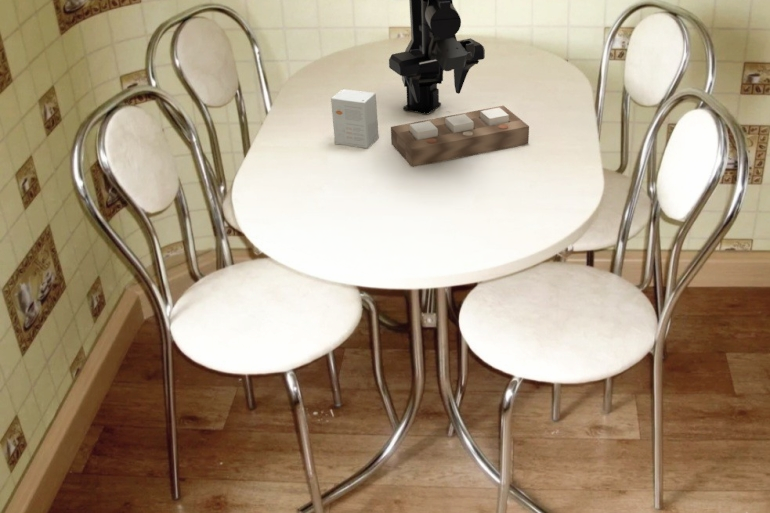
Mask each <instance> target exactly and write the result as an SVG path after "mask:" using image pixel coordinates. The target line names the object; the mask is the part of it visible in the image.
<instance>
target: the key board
mask: <svg viewBox="0 0 770 513" xmlns="http://www.w3.org/2000/svg"><path fill="white" fill-rule="evenodd" d="M494 108H501V109H502V110H503V111H504V112H506V113H507V114H508V115H509V122H508V123H503V124H498V125H493V126H488V125H487V124H486V123H484V122H483V121H482V120H481V119H480V113H481V111H484V110H489V109H494ZM463 114H465V115H466V116H468V117H469V118H470V119H471V120H472V121H473V122H474V129H472V130H467V131H462V132H457V133H452V132H451V131H450V130H449V129H448V128H447V127H446V121H445V118H447V117H452V116H457V115H463ZM426 121H430V122H431V123H432V124H433V125H434V126H435V127H436V128H437V129H438V136H436V137H431V138H426V139H421V140H416V139H415V138H414V137H413V136H412V135H411V134H410V124H415V123H421V122H426ZM529 134H530V125H528V124H527V123H526V122H524V121H523V120H522V119H521V118H520V117H518V116H517V115H516V114H515V113H513V112H512V111H511V110H510V109H508V108H507V107H506V106H505V105H499V106H493V107H488V108H483V109H479V110H473V111H468V112H462V113H458V114H456V113H455V114H451V115H447V116H446V115H445V116H441V117H435V118H431V119H430V118H429V119H424V120H419V121H414V122H410V123H404V124H399V125H392V126H390V139H391V143H390V144H391V146H392V147H393V148H394V149H395V150H396V151H397V152H398V153H399V155H401V157H402V158H403V159H404V160H405V161H406V163H408V164H409V165H410V167H411V168H416V167H421V166H425V165H431V164H435V163H441V162H445V161H450V160H455V159H459V158H460V159H461V158H464V157H470V156H475V155H479V154H485V153H490V152H495V151H500V150H505V149H509V148H516V147H519V146H525V145H529V139H530V136H529Z"/></svg>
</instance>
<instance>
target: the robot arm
mask: <svg viewBox="0 0 770 513" xmlns="http://www.w3.org/2000/svg"><path fill="white" fill-rule="evenodd" d="M409 20H410V36H411V38H410V40H409V43H408V44H407V46H406V49H405V51H402V52H397V53H392V54H391V56H390V57H389V58H388V68H389V69H390V70H391V71H393V72H395V73H396V74H398V75H399V76H400V77H401V81H402V83H403V84H402V85H403V86H404V88H405V89H406V90H405V91H406V105H404V106H403V107H402V109H403V110H405V111H409V112H412V113H418V114H422V115H423V114H424V115H428V114H430V113H432V112H433V111H435V109H437V108H439V107H441V105H442V102H440V101H439V100H440V98H439V97H440V96H439V94H440V93H439V92H440V91H439V88H438V84H439V85H440V84H442V82H443V81H444V71H445V72H451V71H452V70H453V81H454V83H453V84H454V90H455V93H456V94H458V95H459V94H460V93H461V91H462V89H463V86H464V83H465V81H466V78H467V75H468V73H469V71H470V69H471V68H472V67H474V66H475V65H478V64H479V63H480V61H481V60H484V59H485V56H486V55H485V52H486V51H485V47H484V46H483V44H482V43H479V42H478V41H476V40H474V39H473V38H466V39H465V38H464V39H460V40H457V36H456V34H457V33H458V32H459V31H460V29H461V27H462V26H461V25H462V20H461V16H460V14H459V12H458V11H457V9H456V7H455V5H454V3H453V0H409Z"/></svg>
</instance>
